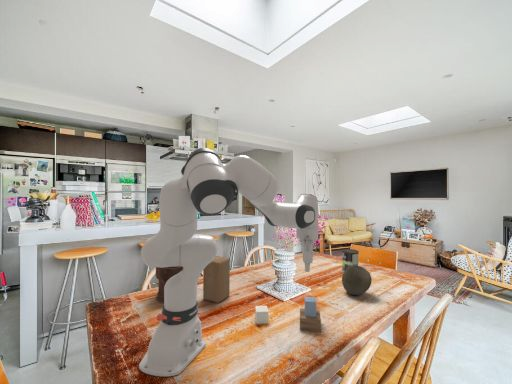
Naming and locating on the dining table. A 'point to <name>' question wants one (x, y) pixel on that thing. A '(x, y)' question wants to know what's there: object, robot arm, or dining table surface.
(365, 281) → the dark grey ball
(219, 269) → the wooden block
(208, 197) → the robot arm
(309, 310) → the blue block
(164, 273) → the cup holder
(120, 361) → the dining table surface
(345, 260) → the coffee can
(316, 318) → the walnut base
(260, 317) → the cream cube
